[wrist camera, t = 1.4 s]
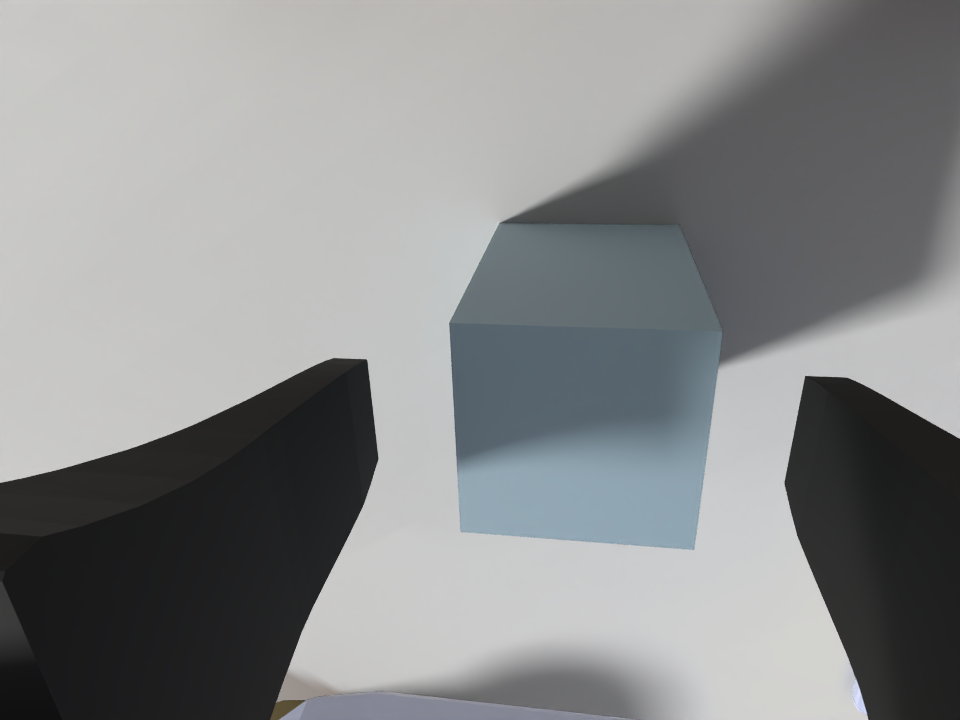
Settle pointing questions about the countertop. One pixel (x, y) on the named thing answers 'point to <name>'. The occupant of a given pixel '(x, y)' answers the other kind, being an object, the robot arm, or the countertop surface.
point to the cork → (284, 708)
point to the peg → (584, 385)
